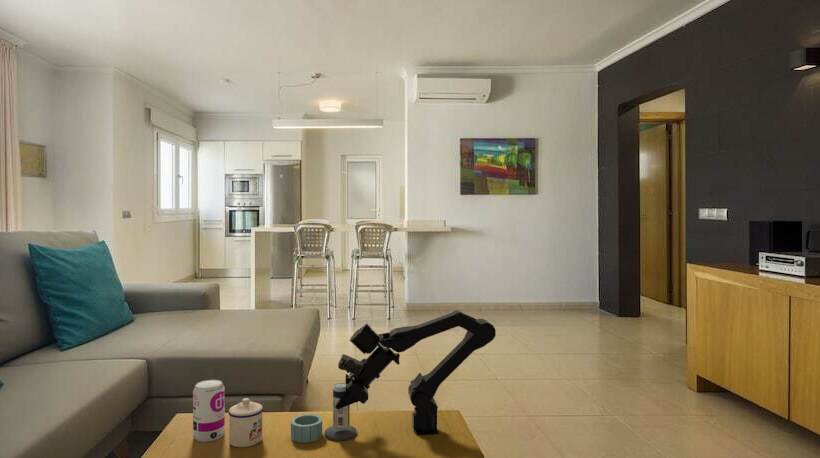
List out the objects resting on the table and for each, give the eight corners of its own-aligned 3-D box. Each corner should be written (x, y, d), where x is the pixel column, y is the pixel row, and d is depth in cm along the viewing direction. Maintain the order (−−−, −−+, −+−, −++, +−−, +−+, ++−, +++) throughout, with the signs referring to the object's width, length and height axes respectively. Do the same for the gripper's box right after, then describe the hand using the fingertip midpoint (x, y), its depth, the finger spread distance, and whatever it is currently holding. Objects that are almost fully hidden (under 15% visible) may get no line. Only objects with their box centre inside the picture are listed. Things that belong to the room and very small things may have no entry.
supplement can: (231, 433, 145) (230, 381, 144) (208, 445, 137) (208, 390, 137) (209, 428, 148) (209, 377, 148) (186, 439, 141) (186, 386, 140)
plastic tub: (322, 428, 148) (322, 413, 148) (322, 441, 140) (322, 425, 140) (292, 430, 147) (292, 415, 147) (290, 444, 138) (290, 427, 138)
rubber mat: (355, 426, 150) (355, 423, 150) (357, 439, 141) (357, 436, 141) (324, 428, 149) (324, 425, 149) (324, 442, 140) (324, 439, 140)
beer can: (353, 426, 145) (353, 385, 145) (340, 431, 142) (339, 389, 141) (342, 422, 148) (342, 381, 148) (329, 427, 145) (329, 385, 145)
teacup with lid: (254, 449, 135) (254, 406, 135) (222, 447, 136) (222, 404, 136) (272, 430, 147) (272, 390, 147) (242, 428, 148) (242, 389, 148)
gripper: (354, 337, 154) (317, 375, 153) (355, 354, 136) (314, 397, 135) (380, 362, 155) (344, 400, 154) (385, 382, 137) (344, 425, 136)
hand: (336, 404), depth 145 cm, fingers closed on beer can, 5 cm apart
